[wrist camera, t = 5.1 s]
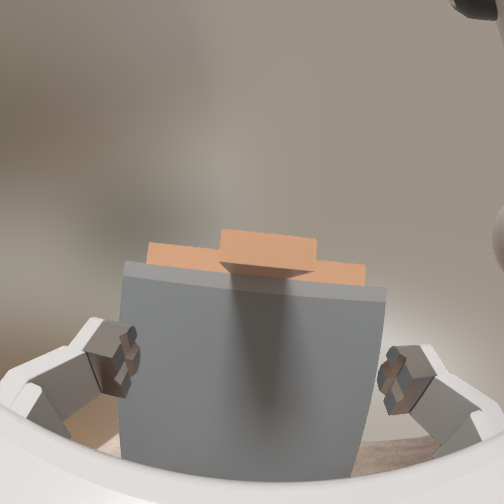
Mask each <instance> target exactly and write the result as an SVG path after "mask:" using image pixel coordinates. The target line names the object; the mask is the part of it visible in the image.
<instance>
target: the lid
mask: <svg viewBox="0 0 504 504" xmlns="http://www.w3.org/2000/svg"><path fill="white" fill-rule="evenodd" d="M316 252H317V239H313V238H305V237H296V236H288V235H279V234H269V233H260V232H250V231H241V230H230V229H222V234H221V242H220V250H217V249H207V248H198V247H189V246H179V245H169V244H160V243H151V242H150V243H149V248H148V255H147V263H146V264H154V265H162V266H170V267H178V268H187V269H195V270H204V271H213V272H222V273H231V274H240V275H250V276H259V277H269V278H279V279H290V280H300V281H311V282H322V283H334V284H346V285H358V286H364V284H365V269H366V265H361V264H360V265H359V264H351V263H341V262H331V261H322V260H316Z"/></svg>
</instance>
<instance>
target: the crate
mask: <svg viewBox="0 0 504 504" xmlns="http://www.w3.org/2000/svg"><path fill="white" fill-rule="evenodd" d="M386 293H387V288H383V287H369V286H358V285H346V284H334V283H322V282H311V281H300V280H290V279H279V278H269V277H259V276H250V275H240V274H231V273H222V272H213V271H204V270H195V269H187V268H178V267H170V266H162V265H154V264H146V263H138V262H131V261H125V266H124V274H123V283H122V293H121V304H120V317H119V323H123V324H128V325H132V326H134V327H135V328H136V332H137V338H136V340H135V342H136V343H137V344H138V346H139V347H140V364H139V368H138V371H137V373H136V374H135V375H133V376H132V377H130V379H131V383H132V384H131V387H130V389H129V391H128V393H127V396H126V398H125V399H124V398H120V397H118V417H119V418H118V419H119V435H120V447H121V457H122V459H125V460H128V461H132V462H135V463H139V464H143V465H146V466H150V467H155V468H159V469H163V470H168V471H173V472H178V473H184V474H189V475H195V476H202V477H209V478H218V479H227V480H238V481H255V482H305V481H321V480H333V479H342V478H349V477H350V475H351V472H352V468H353V465H354V462H355V459H356V456H357V452H358V449H359V446H360V442H361V438H362V434H363V431H364V427H365V423H366V418H367V415H368V411H369V406H370V402H371V397H372V392H373V387H374V382H375V377H376V371H377V366H378V359H379V353H380V346H381V339H382V332H383V323H384V315H385V304H386Z"/></svg>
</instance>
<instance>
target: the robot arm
mask: <svg viewBox="0 0 504 504" xmlns="http://www.w3.org/2000/svg"><path fill="white" fill-rule="evenodd" d="M447 1H448V2H449V3H451V5H452V6H453V7H454V9H455V10H457V11H458V12H460V13H462V14H463V15H464V16H466V17H467V18H472V19H479V20H491V21H496V23H497V27H498V30H499V33H500V36H501V40H502V43H503V47H504V0H447ZM492 237H493V238H492V239H493V240H492V241H493V250H494V254H495V257H496V260H497V262H498V264H499V266H500V268H501V269H502V271H503V272H504V206H503V207H502V208H501V210H500V211H499V213H498V215H497V217H496V220H495V223H494V228H493V236H492ZM136 338H137V332H136V328H135V327H134V326H132V325H128V324H123V323H119V322H114V321H110V320H104V319H100V318H96V317H92V318H90V319H89V320H88V321H87V323H86V324H85V325H84V326H83V328H82V329H81V330H80V332H79V333H78V334H77V335H76V337H75V338H74V339H73V341H72V342H71V343H70V345H69V346H62V347H60V348H58V349H56V350H53V351H51V352H49V353H47V354H45V355H42V356H40V357H38V358H35V359H33V360H31V361H29V362H26V363H24V364H22V365H20V366H17V367H15V368H13V369H11V370H9V371H8V372H7V373H6V375H5V376H4V377H3V379H2V380H1V381H0V504H504V414H503V412H502V411H501V409H500V407H499V405H498V404H497V403H496V402H495V401H493V400H492V399H490V398H489V397H487V396H486V395H484V394H483V393H481V392H480V391H478V390H476V389H475V388H473V387H472V386H470V385H469V384H467V383H466V382H464V381H463V380H461V379H459V378H458V377H456V376H455V375H453V374H449V373H448V372H447V370H446V368H445V367H444V365H443V363H442V362H441V360H440V359H439V357H438V355H437V354H436V352H435V351H434V349H433V348H432V346H431V345H429V344H420V345H409V346H392V347H391V348H390V349H389V350H388V352H387V354H386V357H387V361H386V362H384V363H383V364H382V365H381V367H380V369H379V371H378V377H377V383H378V387H379V390H380V392H382V393H383V394H384V395H385V398H384V404H385V407H386V409H387V412H388V415H398V414H405V413H410V415H411V416H412V417H413V418H414V419H415V420H416V421H417V422H418V423H419V424H420V425H421V426H422V427H423V428H424V429H425V430H426V431H427V432H428V433H429V434H430V435H431V436H432V437H433V438H434V439H435V440H436V441H437V442H438V443H439V444H440V445H441V446H440V447H439V448H438V449H437V450H436V451H435V452H434V453H433V455H432V459H433V460H429V461H426V462H423V463H419V464H415V465H412V466H408V467H404V468H399V469H395V470H390V471H386V472H381V473H375V474H370V475H364V476H357V477H350V478H342V479H333V480H321V481H305V482H255V481H238V480H227V479H218V478H209V477H202V476H195V475H189V474H184V473H178V472H173V471H168V470H163V469H159V468H155V467H150V466H146V465H143V464H139V463H135V462H132V461H128V460H125V459H121V458H118V457H115V456H112V455H109V454H106V453H103V452H100V451H97V450H95V449H92V448H89V447H87V446H84V445H81V444H79V443H76V442H74V441H72V440H70V439H71V435H70V433H69V431H68V430H67V429H66V427H65V425H64V424H63V422H64V421H65V420H66V419H68V418H69V417H70V416H72V415H73V414H75V413H76V412H78V411H79V410H80V409H82V408H83V407H84V406H86V405H87V404H89V403H90V402H91V401H93V400H94V399H96V398H97V397H98V396H100V395H101V393H104V394H108V395H112V396H116V397H120V398H124V399H125V398H126V396H127V393H128V391H129V389H130V387H131V384H132V383H131V379H130V377H132V376H133V375H135V374H136V373H137V371H138V368H139V364H140V347H139V346H138V344H137V343H136V342H135V340H136Z"/></svg>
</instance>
